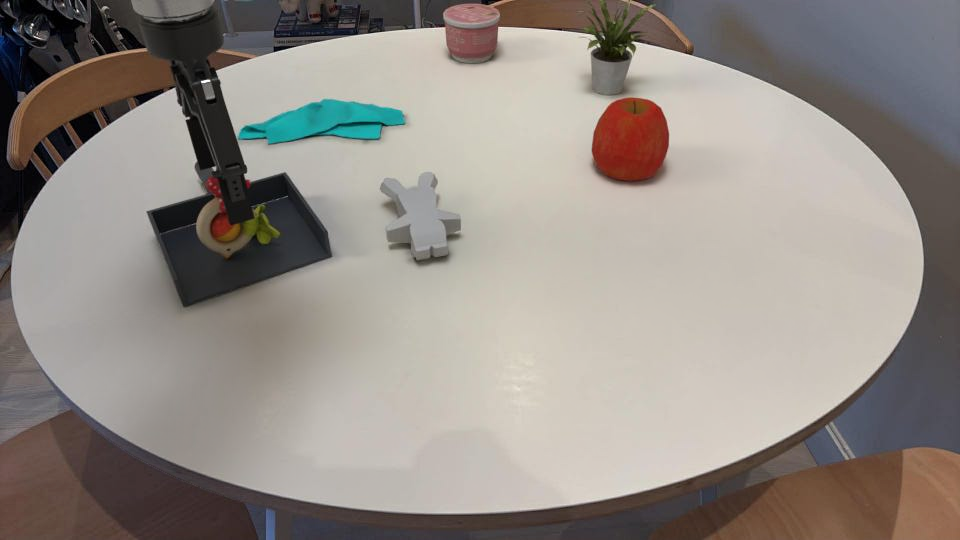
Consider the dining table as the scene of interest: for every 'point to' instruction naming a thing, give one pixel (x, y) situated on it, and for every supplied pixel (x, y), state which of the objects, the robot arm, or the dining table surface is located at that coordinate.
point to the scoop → (214, 275)
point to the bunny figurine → (420, 217)
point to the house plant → (611, 49)
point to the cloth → (325, 121)
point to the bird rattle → (230, 237)
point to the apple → (631, 139)
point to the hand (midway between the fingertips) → (225, 192)
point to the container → (471, 32)
